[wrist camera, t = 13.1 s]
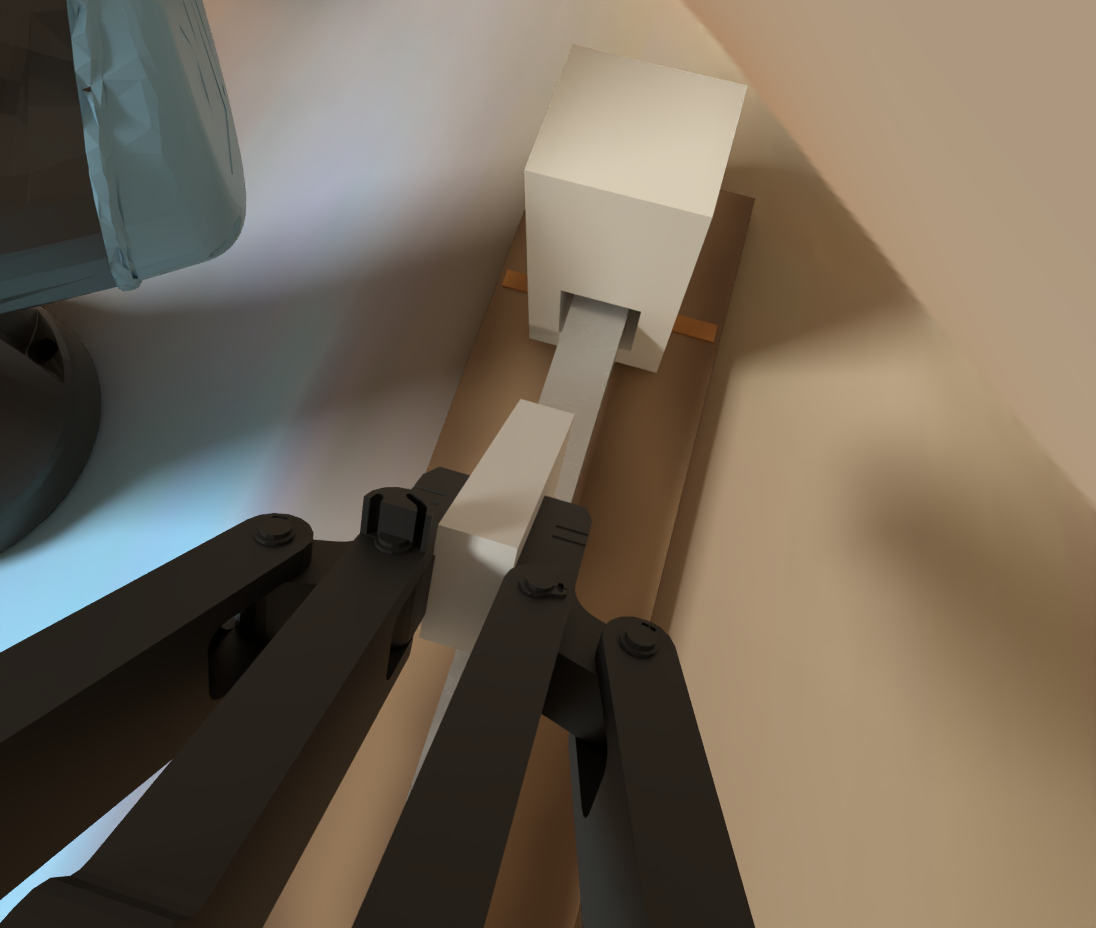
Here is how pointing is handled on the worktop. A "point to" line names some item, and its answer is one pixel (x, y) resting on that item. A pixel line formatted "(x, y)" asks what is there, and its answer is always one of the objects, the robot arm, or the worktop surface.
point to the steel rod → (571, 389)
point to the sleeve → (624, 193)
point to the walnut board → (601, 588)
